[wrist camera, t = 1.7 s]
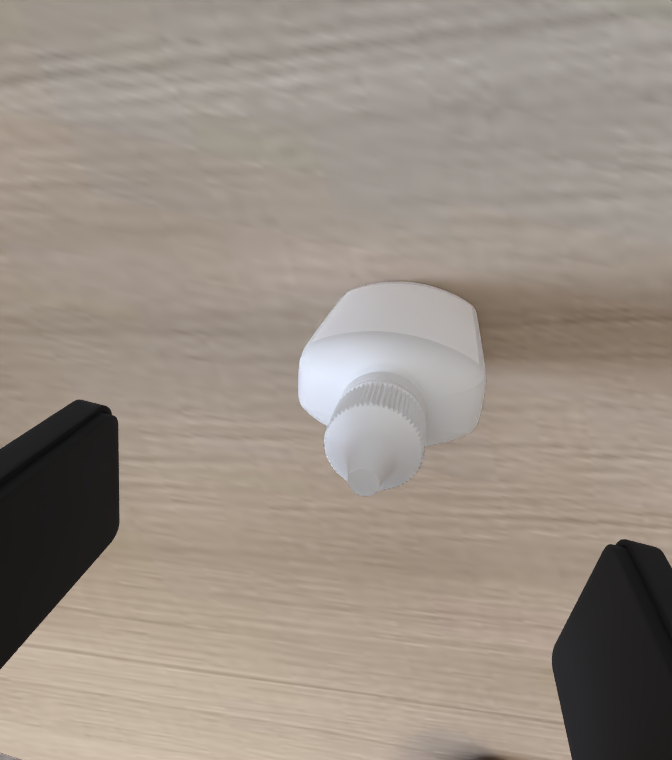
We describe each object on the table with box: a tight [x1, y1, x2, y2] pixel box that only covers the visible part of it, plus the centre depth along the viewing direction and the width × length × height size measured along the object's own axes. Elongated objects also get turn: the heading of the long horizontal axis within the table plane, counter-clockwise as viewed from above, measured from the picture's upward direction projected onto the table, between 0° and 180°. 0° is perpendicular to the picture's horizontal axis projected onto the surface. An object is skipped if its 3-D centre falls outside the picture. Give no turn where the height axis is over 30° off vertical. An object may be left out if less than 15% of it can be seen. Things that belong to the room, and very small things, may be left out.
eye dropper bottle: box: [298, 281, 486, 496], centre depth 16 cm, size 4×6×12 cm
